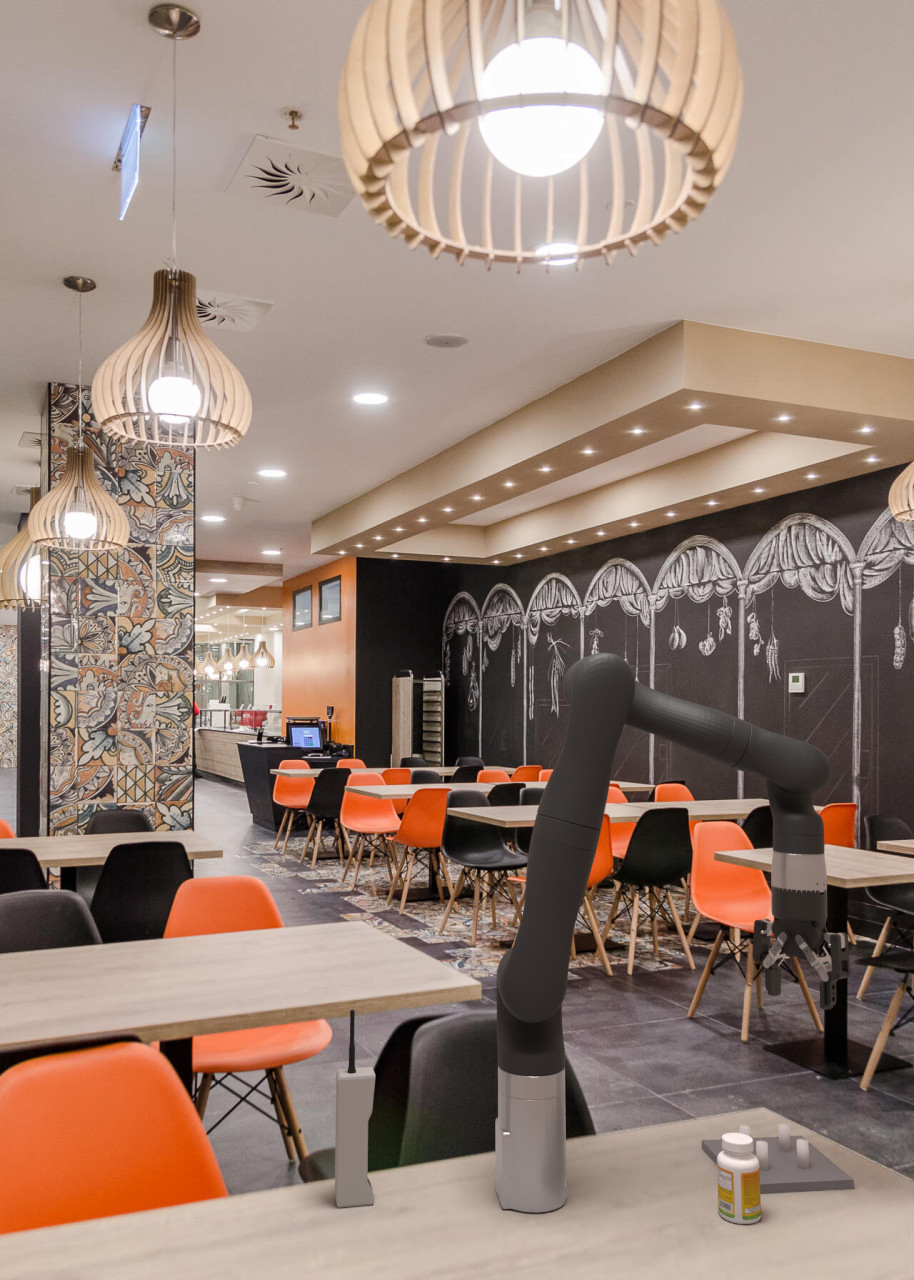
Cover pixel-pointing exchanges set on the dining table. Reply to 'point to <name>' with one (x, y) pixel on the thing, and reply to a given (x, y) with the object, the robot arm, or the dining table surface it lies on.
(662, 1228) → the dining table surface
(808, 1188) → the pin holder
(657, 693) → the robot arm
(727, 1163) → the supplement bottle
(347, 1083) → the vintage mobile phone
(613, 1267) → the dining table surface
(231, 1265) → the dining table surface
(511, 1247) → the dining table surface
